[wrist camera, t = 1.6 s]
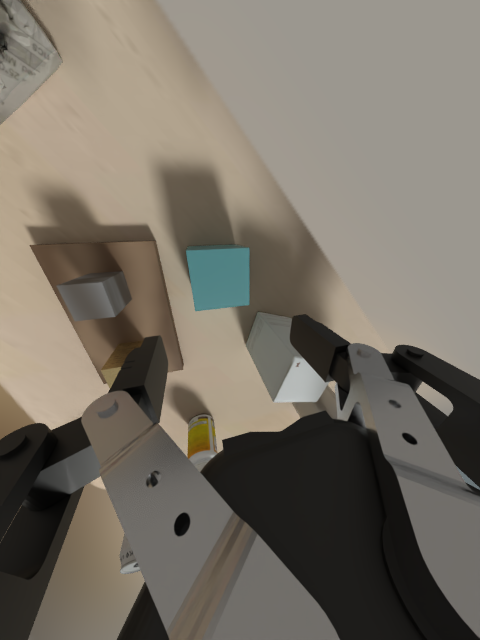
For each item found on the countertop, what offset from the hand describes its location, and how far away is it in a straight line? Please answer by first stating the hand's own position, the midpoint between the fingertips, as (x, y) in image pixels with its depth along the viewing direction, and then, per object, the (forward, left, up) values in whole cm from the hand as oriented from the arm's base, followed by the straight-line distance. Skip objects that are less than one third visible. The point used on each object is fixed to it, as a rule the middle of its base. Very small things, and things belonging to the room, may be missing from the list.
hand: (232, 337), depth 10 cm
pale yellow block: (+12, +10, -15) cm, 22 cm away
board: (+12, +5, -17) cm, 21 cm away
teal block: (-1, -1, -17) cm, 17 cm away
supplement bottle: (+5, +32, -17) cm, 36 cm away
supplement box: (-10, +11, -17) cm, 22 cm away
